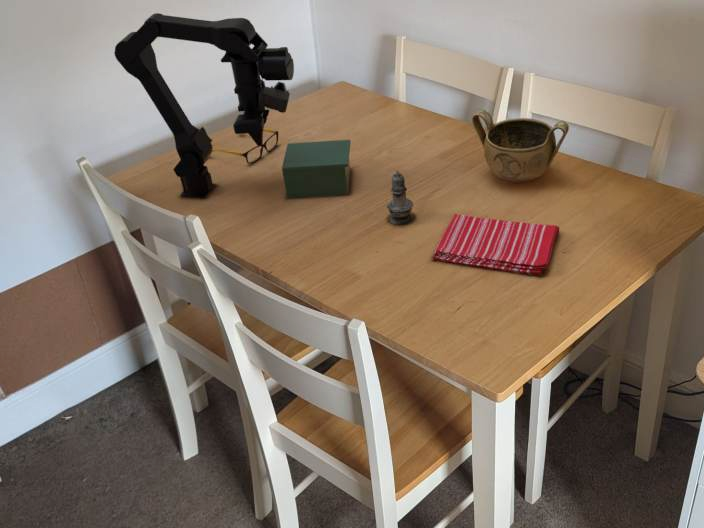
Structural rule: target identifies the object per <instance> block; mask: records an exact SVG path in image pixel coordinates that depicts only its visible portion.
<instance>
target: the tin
mask: <svg viewBox="0 0 704 528" xmlns="http://www.w3.org/2000/svg"><path fill="white" fill-rule="evenodd" d="M350 162H351V161H350V160H349V162H348V167H336V168H319V169H303V170H286V171H282V170H281V171H282V178H283V183H284V189H285V194H286V199H300V198H302V199H303V198H318V197H334V196H348V195H349V189H350V179H351V163H350Z"/></svg>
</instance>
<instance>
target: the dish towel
mask: <svg viewBox="0 0 704 528" xmlns="http://www.w3.org/2000/svg"><path fill="white" fill-rule="evenodd" d="M559 233H560V226H559V225H555V224H539V223H531V222H522V221H514V220H513V221H512V220H505V219H504V220H503V219H495V218H494V219H493V218H487V217H480V216H479V217H478V216H471V215H467V214H458V213H454V214H453V216H452V219H451V220H450V222H449V224H448V226H447V227H446V229H445V231H444V233H443V235H442V236H441V238H440V241H439V242H438V244H437V246H436V247H435V250H434V252H433V255H432V256H431V259H432V260H434V261H440V262H445V263H451V264H452V263H454V264H461V265H465V266H473V267H479V268H486V269H490V270H491V269H492V270H500V271H505V272H506V271H507V272H512V273H517V274H526V275H533V276H538V277H539V276H540V277H541V276H542V274H543V271H544V270H545V269H546V268H547V267H548V264H549V262H550V259H551V256H552V250H553V247H554V244H555V242H556V239H557V236H558V235H559Z"/></svg>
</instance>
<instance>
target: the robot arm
mask: <svg viewBox="0 0 704 528" xmlns="http://www.w3.org/2000/svg"><path fill="white" fill-rule="evenodd" d="M157 38H163V39H171V40H172V39H173V40H179V41H188V42H196V43H203V44H209V45H212V46H214V47H216V48H217V49H218V50H221V51H223V52H225V53H224V55H223V56H222V57H221V58H220V62H221V63H230V65H231V68H232V69H231V71H232V76H233V80H234V85H235V87H234V89H233V91H234V95H236V96H237V100H238V106H237V111H238V112H243V113H242V114H238V115H237V116H236V117H235V119H234V122H233V125H232V126H233V127H232V128H233V131H234V134H236V135H241V134H243V135H244V134H248V135H249V137H250V138H251V139H252V141H254V142H255V144H256V146H259V147H261V146H262V144H264V142H263V141H264V131H263V129H265V125H266V123H267V120H268V116H269V114H270V110H274V111H277V112H278V113H280V114H281V113H282V114H284V113H286V112H287V108H288V105H289V100H290V94H291V93H290V91H289V90H288V89H287V87H286V83H285V82H282V81H292V80H293V78H294V73H295V63H294V59H293V58H292V55H291V53H290V52H289V48H288V47H287V46H281V47H270V48H269V47H268V46H269V44H268V43H267V42H266V41H265V40H264V39H263V37H262V36H261V35H260V34H259V33H258V32H257V31H256V28H255V26H254V24H253V23H252V22H251V20H249V19H248V18H244V17H232V18H224V19H220V20H204V19H197V18H190V17H184V16H183V17H182V16H173V15H165V14H162V13H159V12H156V13H153V14H151V15H150V16H149V17H148V18H146V19H145V20H144V23H143V24H142V25H141V26H140V27H139V28H138V29H137V30H136V31H131V32H130V33H128V34H127V35H125V37H123V38H122V39H121V40H120V41H119V42H118V43H116V45H115V47H114V52H113V53H114V57H115V59H116V60H117V62H118V63H119V64H120V66H121V67H122V68H123V69H124V70H125V72H127V73H128V74H129V75H131V76H132V77H134V78H135V79H137V80H138V81H139V82H140V84H141V86H142V87H143V89H144V90H145V92H146V94H147V95H148V97H149V98H150V101H152V103H153V105H154V106H155V108H156V110H157V111H158V113H159V114H160V116H161V118H162V119H163V120H164V123H165V124H166V125H167V127H168V128H169V130H170V131H171V133H172V135H173V138H174V145H175V150H176V152H177V154H178V155H177V156H178V157H179V159H180V160H179V162H177V164H176V165H175V166H174V168H173V170H172V171H173V172H174V173H175V175H176V177H178V178H180V182H181V187H182V190H183V191H182V192H181V193H180V197H183V198H184V197H185V198H197V199H205V198H207V196H208V195H209V194H210V193H211V191H213V190H214V188H215V187H216V183H214V182H213V179H212V174H211V172H209V169H208V166H207V165H205V164H206V163H207V162H208V159H209V158H210V156H211V155H212V153H213V152H212V150H213V149H214V148H213V144H212V142H213V139H212V138H211V137H210V136H209V135H208V133H207V131H206V128H205V127H204V126H201V127H200V128H197V126H195V125H193V124H192V123H191V122H190V120H189V118H188V116H187V115H186V113H185V111H184V109H183V108H182V107H181V105H180V103H179V102H178V100H177V99H176V97H175V95H174V94H173V92H172V90H171V88H170V86H169V85H168V84H167V82H166V80H165V78H164V77H163V76H162V74H161V72H160V71H159V67H158V63H157V57H156V53H155V50H154V48H153V45H152V44H153V42H154V41H156V40H157ZM251 45H252V46H253V47H252V48H251ZM265 81H277V82H276V84H275V85H274V86H273V85H271V86H270V87H269V86H266V83H265ZM266 108H267V109H266ZM210 154H211V155H210Z"/></svg>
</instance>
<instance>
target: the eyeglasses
mask: <svg viewBox="0 0 704 528" xmlns="http://www.w3.org/2000/svg"><path fill="white" fill-rule="evenodd" d="M263 132H265V133H270V134H272V135H271V136H270V137H269V136H268V138H267V139H266V140H265V141H264V142H263V144H262V146H258V145H256V146H254V147H253V148H251V149H249V150H247V151H245V152H239V151H232V150H225V149H219V148H213V149H212V153H213V152H217V151H218V152H221V153H225V154H231V155H236V156H239V157H244V159H245V161H246V163H247V164H249V165H250V164H251V165H252V164H255V163H256V162H257V161H259V160H261V158H262V156H263V151H264V149H265V151H266V152H267V153H271V152H272V151H273V150H275V148H276V147H277V145H278V143H279V131H278V130H274V129H267V128H264V129H263ZM240 136H244V134H240ZM274 136H276V138H275V139H276V142H275V145H274V146H273V148H271V149H269V150H268V147H267V142H268V141H269V140H271V139H272V138H273V137H274ZM259 147H260V149H259V157H258V158H257V159H255V160H254V161H250V162H249V158H248V155H249V153H250V152H251V151H253V150H255V149H257V148H259ZM212 153H211V154H210V156H211V155H212Z"/></svg>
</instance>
